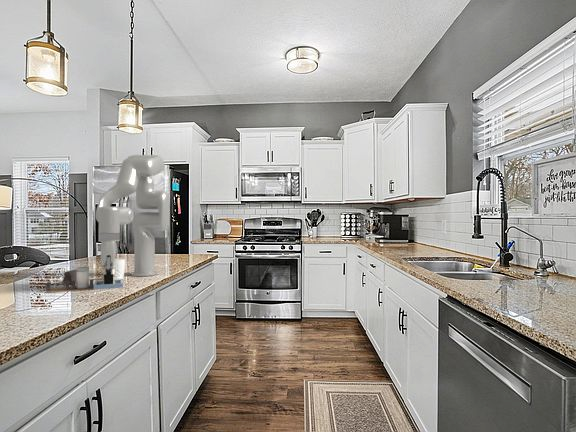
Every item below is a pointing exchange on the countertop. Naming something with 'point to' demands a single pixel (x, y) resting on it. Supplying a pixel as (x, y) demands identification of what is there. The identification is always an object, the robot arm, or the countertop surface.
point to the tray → (108, 285)
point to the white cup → (119, 268)
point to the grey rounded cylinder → (82, 277)
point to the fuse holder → (66, 287)
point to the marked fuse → (113, 273)
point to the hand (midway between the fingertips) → (108, 282)
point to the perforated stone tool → (70, 276)
